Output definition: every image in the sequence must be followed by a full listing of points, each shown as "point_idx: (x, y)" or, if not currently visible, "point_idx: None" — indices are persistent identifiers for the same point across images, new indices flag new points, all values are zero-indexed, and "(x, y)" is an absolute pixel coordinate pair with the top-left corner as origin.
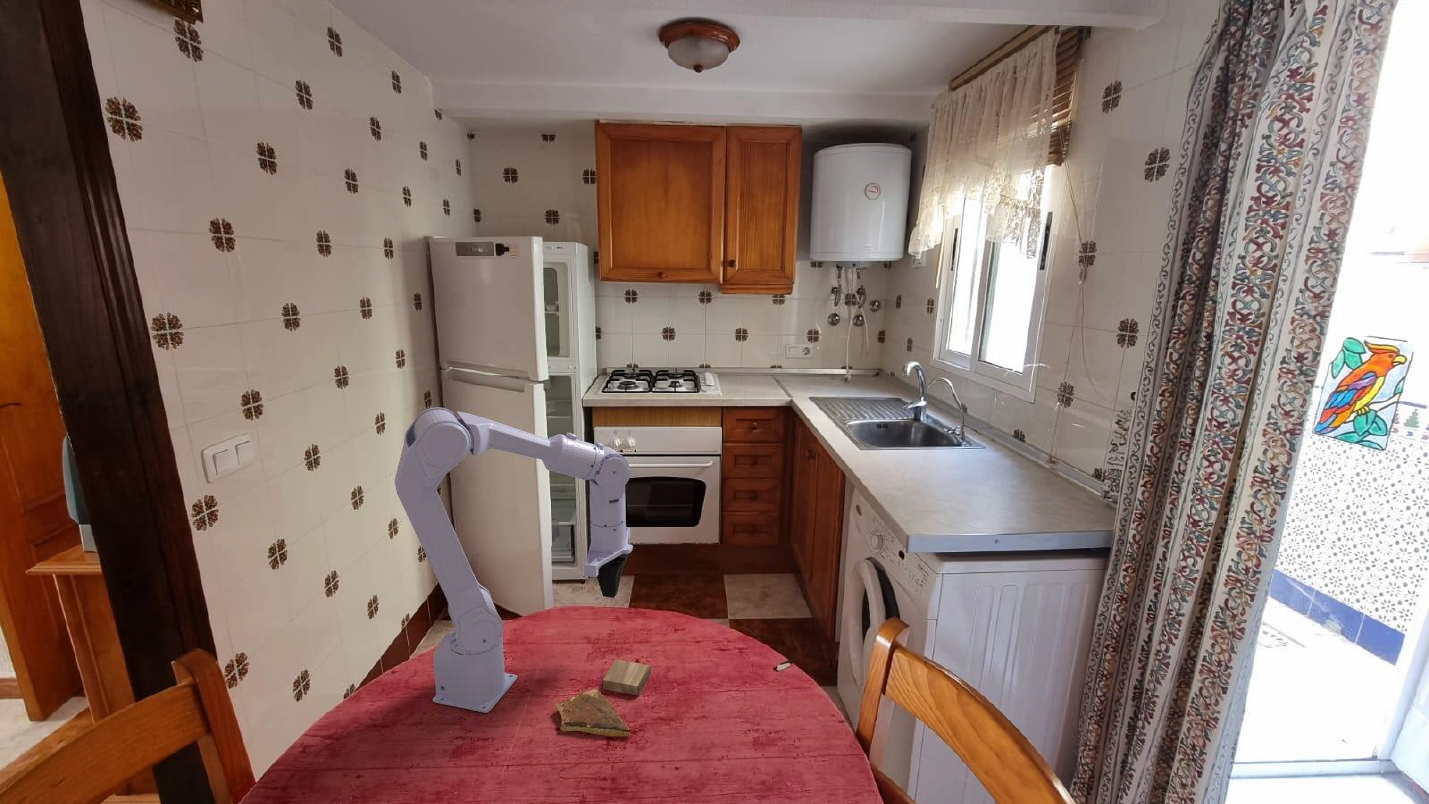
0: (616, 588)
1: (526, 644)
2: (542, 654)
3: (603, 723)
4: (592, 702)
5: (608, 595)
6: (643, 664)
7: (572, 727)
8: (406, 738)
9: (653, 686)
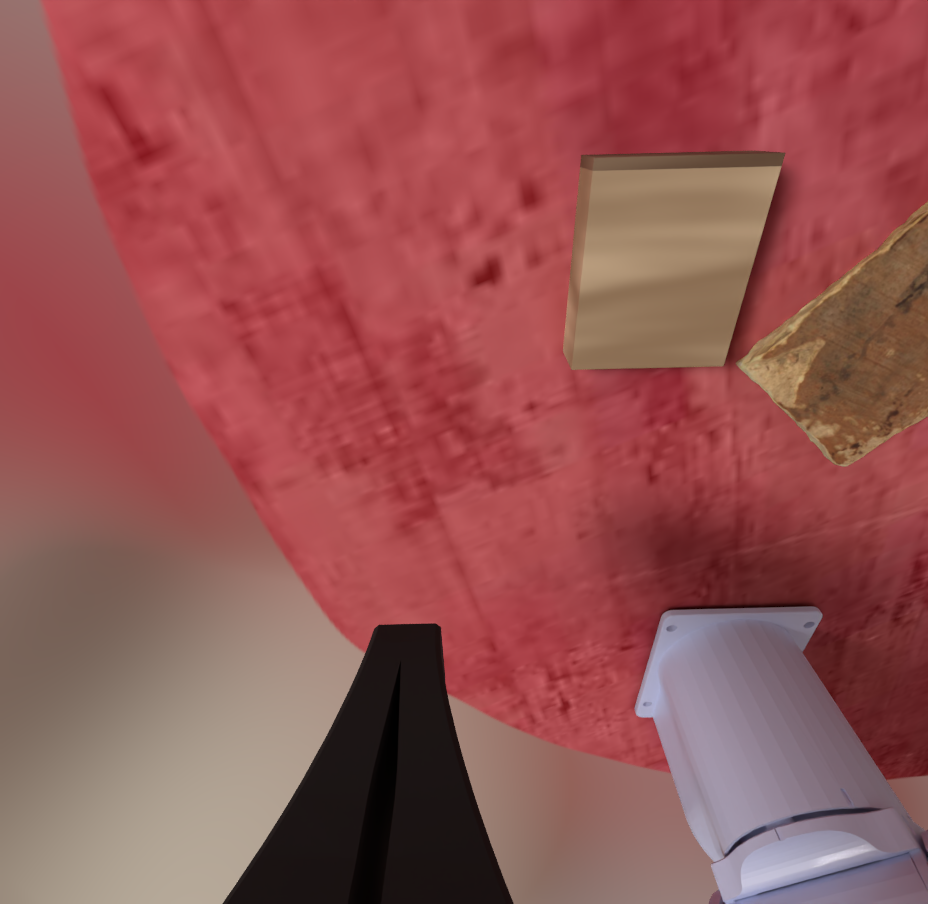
0: (416, 686)
1: (501, 650)
2: (537, 600)
3: None
4: (857, 348)
5: (442, 664)
6: (590, 207)
7: None
8: (877, 689)
9: (677, 94)
